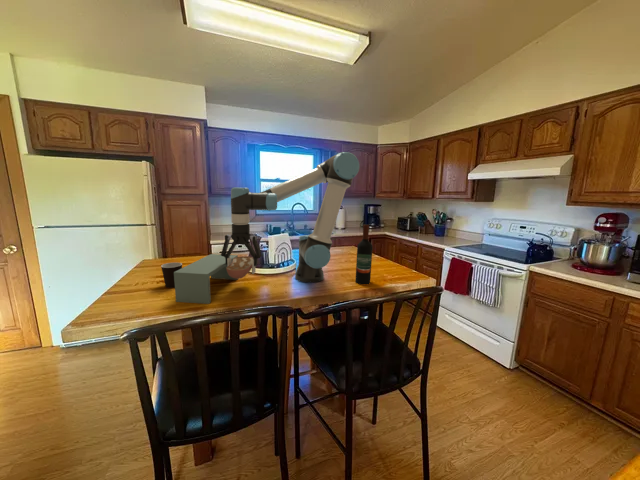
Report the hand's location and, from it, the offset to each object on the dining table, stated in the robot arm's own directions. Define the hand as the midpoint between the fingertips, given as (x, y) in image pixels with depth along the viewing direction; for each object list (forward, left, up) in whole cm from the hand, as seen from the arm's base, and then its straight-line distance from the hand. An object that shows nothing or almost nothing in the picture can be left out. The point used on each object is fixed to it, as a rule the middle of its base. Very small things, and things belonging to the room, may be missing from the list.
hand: (241, 272), depth 122 cm
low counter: (+15, 0, -9) cm, 17 cm away
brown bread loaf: (0, 0, -1) cm, 1 cm away
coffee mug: (+34, -3, -9) cm, 35 cm away
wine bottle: (-56, -21, -9) cm, 61 cm away
